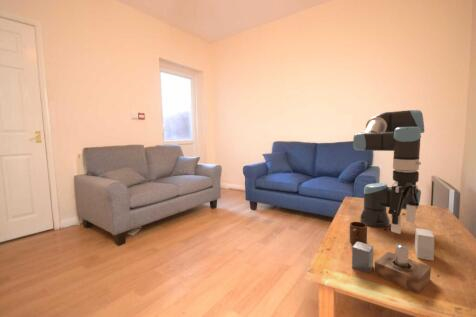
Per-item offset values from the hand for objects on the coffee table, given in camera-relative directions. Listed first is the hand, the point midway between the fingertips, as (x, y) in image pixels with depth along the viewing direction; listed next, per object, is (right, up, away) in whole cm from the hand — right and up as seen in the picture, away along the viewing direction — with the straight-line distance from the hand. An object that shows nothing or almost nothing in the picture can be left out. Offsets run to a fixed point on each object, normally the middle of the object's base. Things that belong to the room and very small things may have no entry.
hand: (403, 226), depth 85 cm
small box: (+20, -17, +16) cm, 31 cm away
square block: (-10, -19, +9) cm, 23 cm away
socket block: (+1, -19, +2) cm, 20 cm away
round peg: (0, -19, +2) cm, 20 cm away
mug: (-3, -17, +27) cm, 32 cm away
